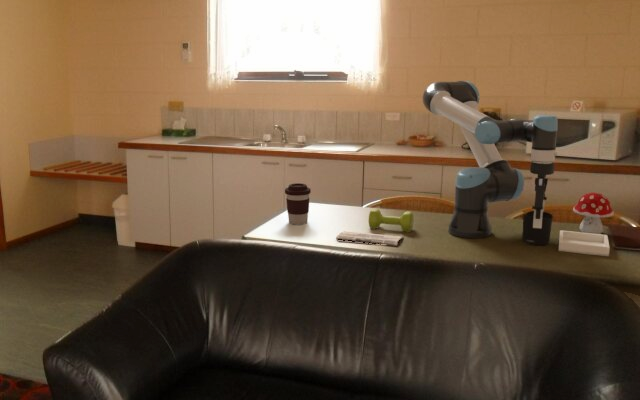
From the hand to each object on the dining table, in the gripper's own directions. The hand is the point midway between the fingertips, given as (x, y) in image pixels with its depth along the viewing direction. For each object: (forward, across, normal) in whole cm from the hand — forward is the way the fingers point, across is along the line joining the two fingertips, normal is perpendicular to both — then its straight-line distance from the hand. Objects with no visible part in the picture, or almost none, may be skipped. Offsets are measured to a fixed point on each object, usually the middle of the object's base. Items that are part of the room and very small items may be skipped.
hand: (538, 223), depth 202 cm
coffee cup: (+6, -8, +87) cm, 88 cm away
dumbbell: (+7, -3, +51) cm, 52 cm away
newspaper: (+7, -19, +54) cm, 58 cm away
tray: (+7, 0, -15) cm, 16 cm away
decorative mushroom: (+7, +19, -18) cm, 27 cm away
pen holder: (+7, 0, 0) cm, 7 cm away
